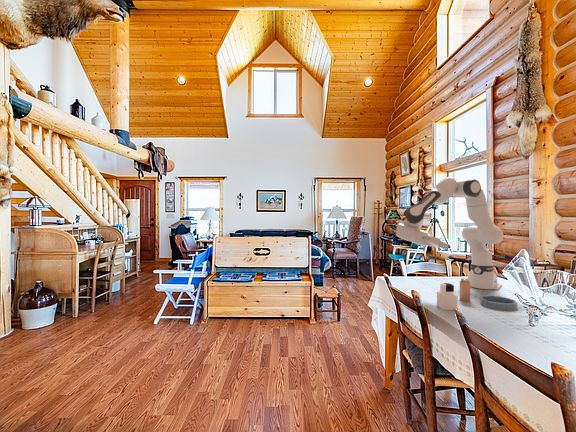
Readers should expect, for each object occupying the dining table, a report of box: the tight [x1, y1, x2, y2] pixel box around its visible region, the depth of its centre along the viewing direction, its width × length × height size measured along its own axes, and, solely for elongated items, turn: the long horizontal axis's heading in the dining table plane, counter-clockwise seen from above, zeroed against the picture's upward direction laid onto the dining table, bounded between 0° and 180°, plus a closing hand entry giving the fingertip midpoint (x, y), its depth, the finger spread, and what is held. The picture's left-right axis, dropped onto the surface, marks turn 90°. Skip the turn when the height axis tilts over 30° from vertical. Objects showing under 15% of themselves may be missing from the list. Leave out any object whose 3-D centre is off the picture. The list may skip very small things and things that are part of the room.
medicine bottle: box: [436, 282, 459, 311], centre depth 151 cm, size 7×7×12 cm
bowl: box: [479, 295, 518, 311], centre depth 154 cm, size 15×15×3 cm
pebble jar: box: [459, 277, 471, 302], centre depth 165 cm, size 5×5×12 cm
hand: (448, 246), depth 171 cm, fingers open, 8 cm apart
